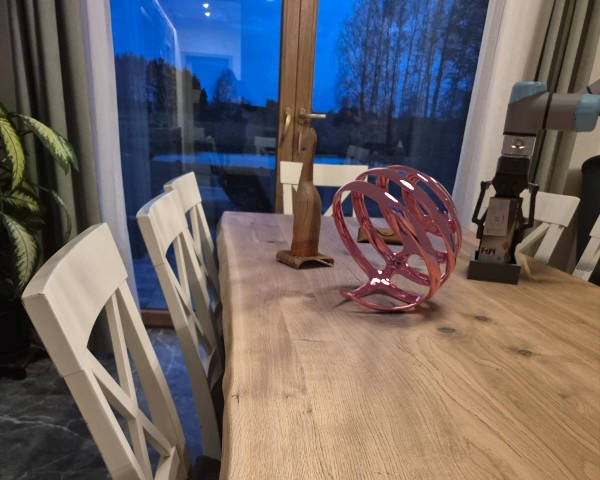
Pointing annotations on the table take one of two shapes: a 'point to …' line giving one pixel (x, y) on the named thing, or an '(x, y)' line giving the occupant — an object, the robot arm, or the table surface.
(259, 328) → the table surface
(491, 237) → the coffee box
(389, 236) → the sunglasses case
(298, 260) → the bird sculpture
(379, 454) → the table surface
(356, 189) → the spiral basket
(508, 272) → the box
